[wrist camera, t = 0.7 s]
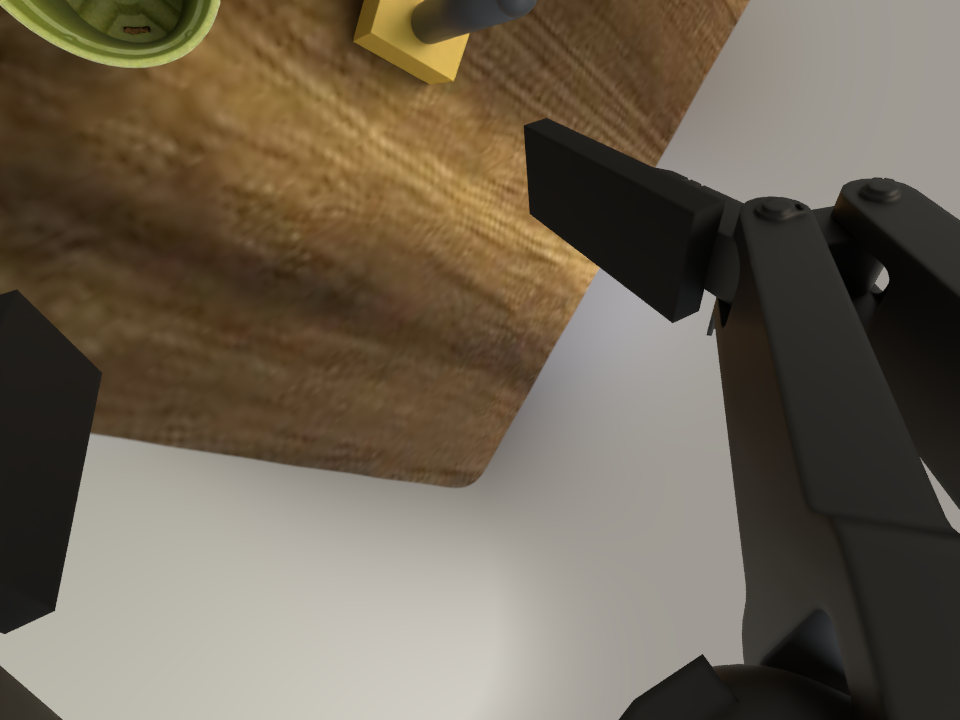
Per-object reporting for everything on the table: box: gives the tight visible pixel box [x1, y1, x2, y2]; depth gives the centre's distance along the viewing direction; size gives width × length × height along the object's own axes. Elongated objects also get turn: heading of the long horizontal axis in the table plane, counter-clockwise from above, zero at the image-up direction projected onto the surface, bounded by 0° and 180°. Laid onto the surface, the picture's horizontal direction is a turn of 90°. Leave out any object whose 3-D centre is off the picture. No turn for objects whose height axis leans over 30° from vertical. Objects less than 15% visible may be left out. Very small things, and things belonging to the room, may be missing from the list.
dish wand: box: [353, 0, 537, 84], centre depth 27 cm, size 6×4×17 cm, turn 66°
